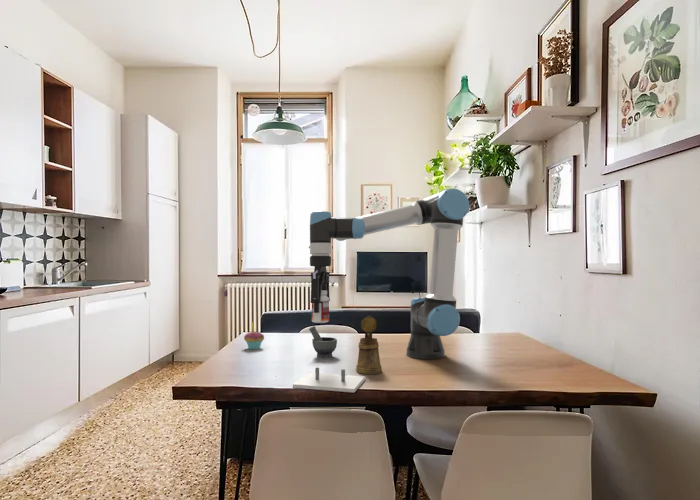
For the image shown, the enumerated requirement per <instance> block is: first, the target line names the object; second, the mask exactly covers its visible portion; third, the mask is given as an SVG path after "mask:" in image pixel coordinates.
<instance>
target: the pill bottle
mask: <svg viewBox="0 0 700 500" xmlns="http://www.w3.org/2000/svg"><path fill="white" fill-rule="evenodd" d="M326 295H327V290H321V300H320V303H321V322H313V303H311V322H312V323H314V324H315V323H316V324H324V323H328V322H330V301H329V299H330V298H328V297H327V296H326Z"/></svg>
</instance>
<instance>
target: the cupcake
mask: <svg viewBox="0 0 700 500" xmlns="http://www.w3.org/2000/svg"><path fill="white" fill-rule="evenodd" d="M251 325H252V328H251V330H252V331H249V332H247V333H246V334H245V335H244V336H243V337H244V338H243V340H244V341H245V342H246V344H247V347H248V349H249V350H258V349H261V345H262V343H263V341H264V340H265V336H264V334H263V333H261V332H259V331H255V323H254V322H252V323H251Z"/></svg>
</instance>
